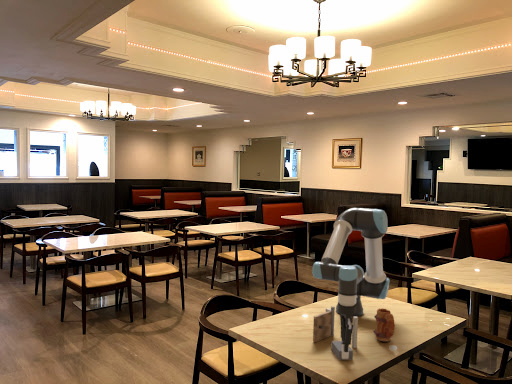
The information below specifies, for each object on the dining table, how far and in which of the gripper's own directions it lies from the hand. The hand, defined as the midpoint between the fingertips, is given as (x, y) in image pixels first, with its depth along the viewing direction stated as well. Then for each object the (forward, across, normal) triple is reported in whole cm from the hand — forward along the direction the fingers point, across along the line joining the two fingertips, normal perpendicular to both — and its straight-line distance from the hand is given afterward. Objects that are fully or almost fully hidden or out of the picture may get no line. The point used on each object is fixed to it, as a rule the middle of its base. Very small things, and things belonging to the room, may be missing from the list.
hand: (345, 358), depth 175 cm
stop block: (+1, +6, 0) cm, 6 cm away
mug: (+1, +20, -24) cm, 31 cm away
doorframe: (+1, +22, -3) cm, 22 cm away
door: (+1, +21, +5) cm, 22 cm away
